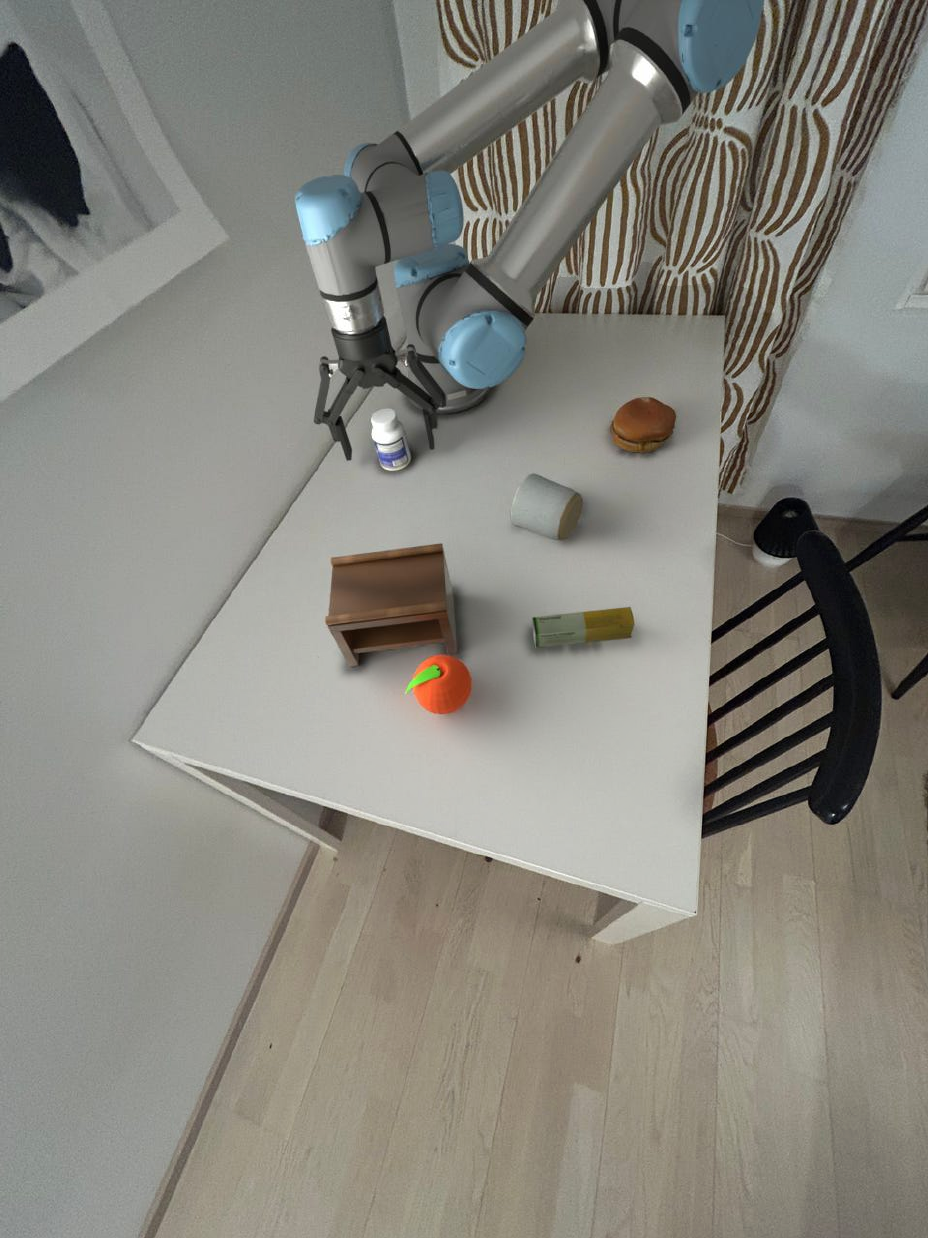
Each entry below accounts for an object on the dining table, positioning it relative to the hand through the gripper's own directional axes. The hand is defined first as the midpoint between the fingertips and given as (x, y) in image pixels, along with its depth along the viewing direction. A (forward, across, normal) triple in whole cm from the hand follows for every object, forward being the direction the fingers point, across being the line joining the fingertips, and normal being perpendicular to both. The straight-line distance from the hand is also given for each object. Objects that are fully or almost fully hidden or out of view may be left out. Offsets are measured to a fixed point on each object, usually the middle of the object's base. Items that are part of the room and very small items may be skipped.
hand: (390, 450), depth 95 cm
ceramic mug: (+2, +23, -18) cm, 30 cm away
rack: (+3, +1, -34) cm, 34 cm away
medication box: (+2, +24, -39) cm, 46 cm away
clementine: (+3, +6, -45) cm, 46 cm away
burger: (+2, +40, -2) cm, 40 cm away
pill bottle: (+3, 0, 0) cm, 3 cm away
